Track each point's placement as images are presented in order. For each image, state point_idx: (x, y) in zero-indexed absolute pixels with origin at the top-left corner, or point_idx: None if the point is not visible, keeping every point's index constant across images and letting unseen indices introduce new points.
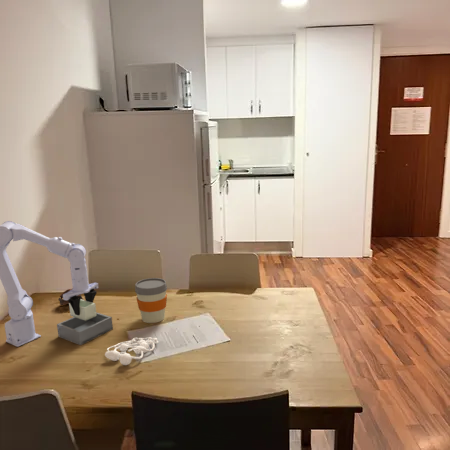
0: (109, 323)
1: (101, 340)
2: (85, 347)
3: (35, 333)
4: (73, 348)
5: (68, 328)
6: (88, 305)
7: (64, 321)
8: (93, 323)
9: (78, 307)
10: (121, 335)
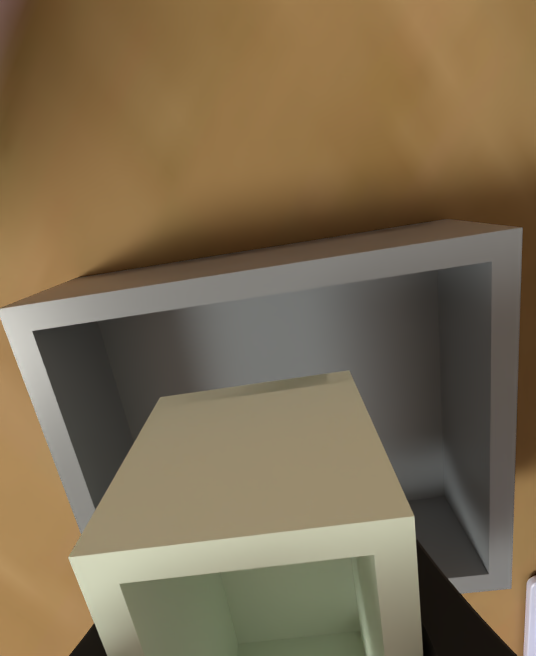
0: (74, 287)
1: (267, 150)
2: (445, 141)
3: (533, 630)
4: (519, 215)
5: (514, 425)
6: (179, 629)
7: None
8: None
9: (461, 639)
10: (70, 82)
